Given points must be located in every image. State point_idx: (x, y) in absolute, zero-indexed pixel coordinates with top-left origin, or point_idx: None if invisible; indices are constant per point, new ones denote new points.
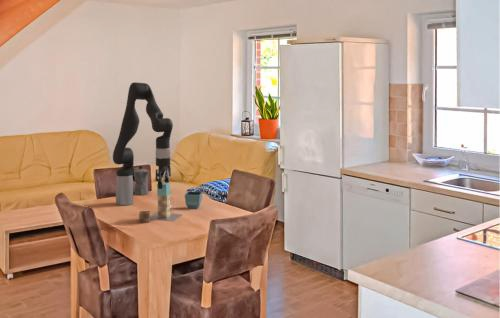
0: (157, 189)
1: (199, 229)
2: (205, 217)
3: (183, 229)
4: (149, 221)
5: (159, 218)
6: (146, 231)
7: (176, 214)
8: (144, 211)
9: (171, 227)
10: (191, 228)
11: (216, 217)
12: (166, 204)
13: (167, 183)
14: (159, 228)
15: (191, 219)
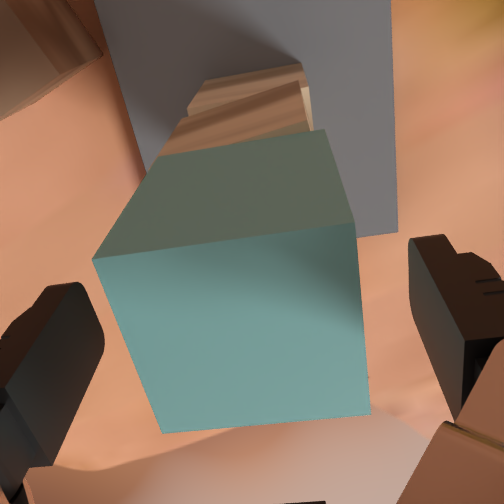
0: (132, 200)
1: (151, 431)
2: (424, 362)
3: (98, 368)
4: (39, 97)
5: (186, 114)
6: None
7: (381, 179)
8: (4, 22)
9: (87, 290)
10: (143, 393)
11: (445, 413)
12: None
13: (281, 407)
14: (14, 233)
15: None
